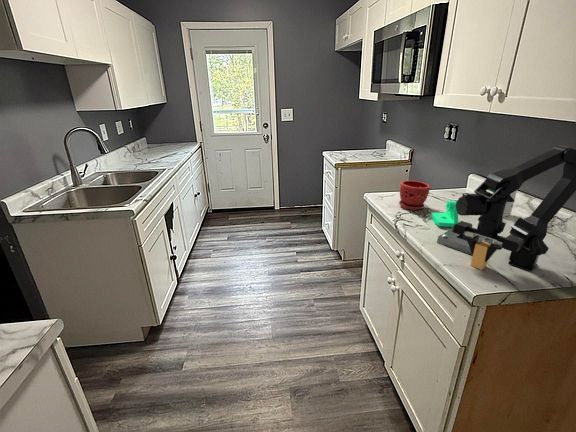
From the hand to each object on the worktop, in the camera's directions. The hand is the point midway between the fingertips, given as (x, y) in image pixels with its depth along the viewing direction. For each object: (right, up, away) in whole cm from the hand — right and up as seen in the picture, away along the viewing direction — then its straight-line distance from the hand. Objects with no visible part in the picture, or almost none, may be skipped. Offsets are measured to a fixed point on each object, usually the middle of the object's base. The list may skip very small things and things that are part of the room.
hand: (479, 259), depth 102 cm
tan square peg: (0, -2, +1) cm, 2 cm away
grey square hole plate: (+4, +4, +16) cm, 17 cm away
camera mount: (+5, +11, +34) cm, 36 cm away
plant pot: (-1, +18, +53) cm, 56 cm away
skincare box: (+35, +14, +43) cm, 58 cm away
